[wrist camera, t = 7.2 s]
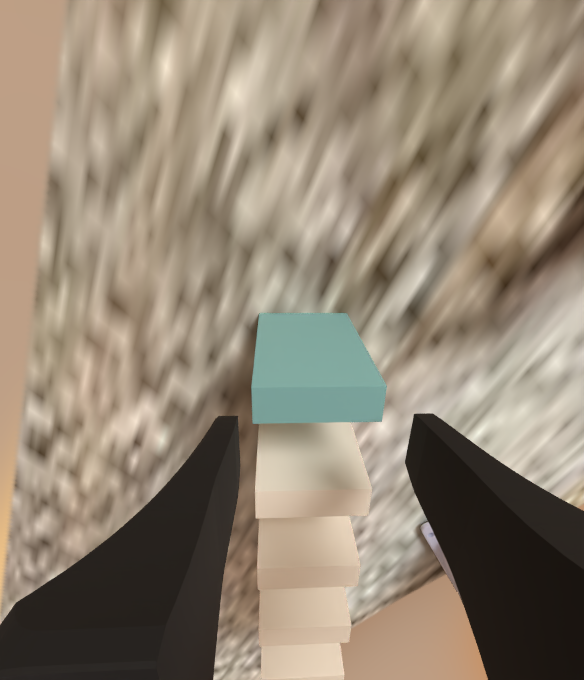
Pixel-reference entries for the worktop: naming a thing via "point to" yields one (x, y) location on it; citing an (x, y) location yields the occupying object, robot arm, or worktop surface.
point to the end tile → (313, 371)
